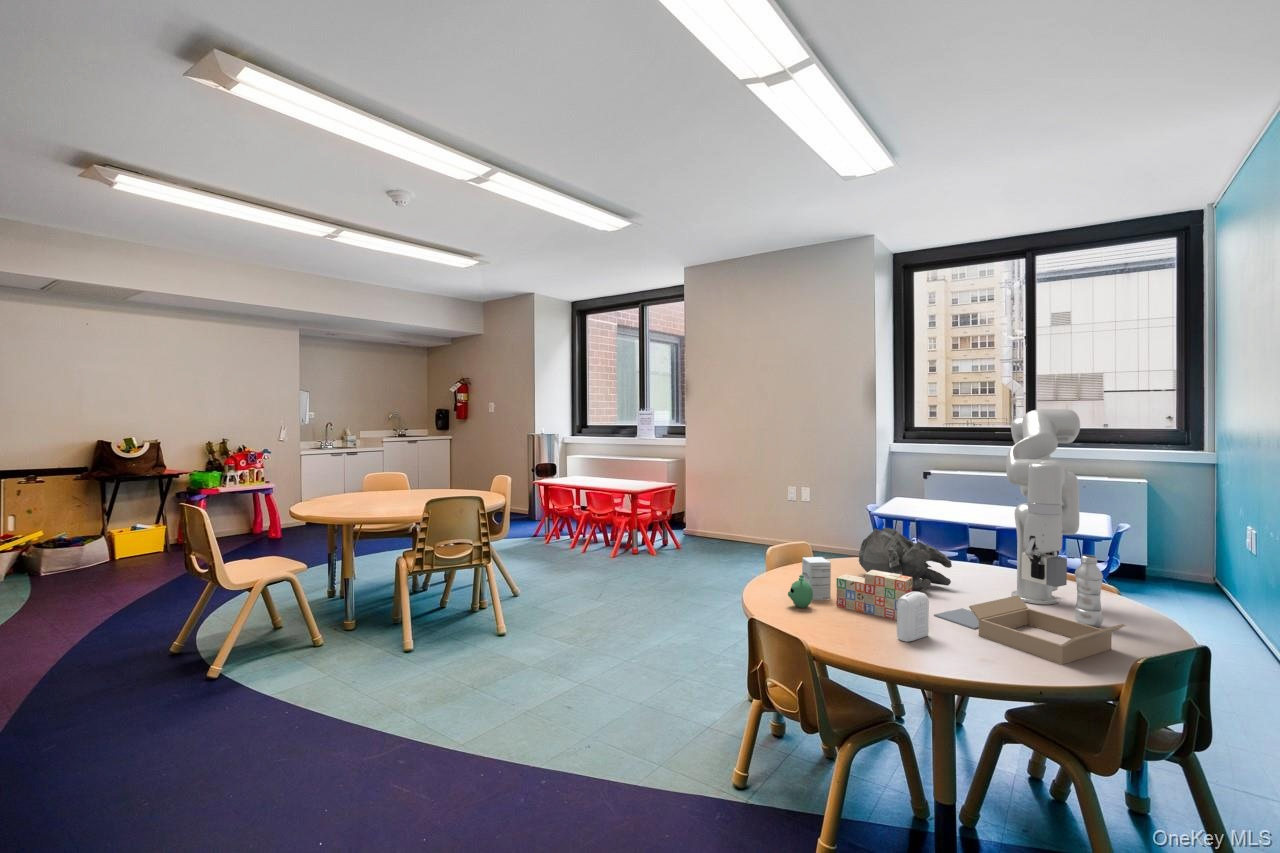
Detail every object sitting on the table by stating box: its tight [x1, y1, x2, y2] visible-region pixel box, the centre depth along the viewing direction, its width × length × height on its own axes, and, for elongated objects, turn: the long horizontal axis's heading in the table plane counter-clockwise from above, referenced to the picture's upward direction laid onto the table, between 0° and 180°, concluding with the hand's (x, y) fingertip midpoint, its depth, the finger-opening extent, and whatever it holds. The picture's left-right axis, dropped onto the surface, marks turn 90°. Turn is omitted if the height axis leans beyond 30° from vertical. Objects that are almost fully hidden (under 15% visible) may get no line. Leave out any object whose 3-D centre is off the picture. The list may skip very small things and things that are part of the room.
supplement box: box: [801, 556, 832, 601], centre depth 203 cm, size 7×7×13 cm
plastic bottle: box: [1074, 554, 1104, 628], centre depth 175 cm, size 6×7×20 cm
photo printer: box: [896, 591, 930, 643], centre depth 166 cm, size 10×4×12 cm, turn 123°
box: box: [1021, 553, 1068, 588], centre depth 162 cm, size 4×9×7 cm, turn 26°
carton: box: [968, 595, 1126, 665], centre depth 162 cm, size 22×28×8 cm
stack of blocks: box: [836, 570, 913, 621], centre depth 188 cm, size 21×6×12 cm, turn 48°
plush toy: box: [858, 527, 953, 592], centre depth 220 cm, size 27×26×20 cm
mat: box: [933, 608, 979, 630], centre depth 181 cm, size 13×13×1 cm
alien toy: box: [787, 574, 813, 609], centre depth 192 cm, size 7×8×10 cm
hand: (1043, 576), depth 162 cm, fingers closed on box, 4 cm apart
